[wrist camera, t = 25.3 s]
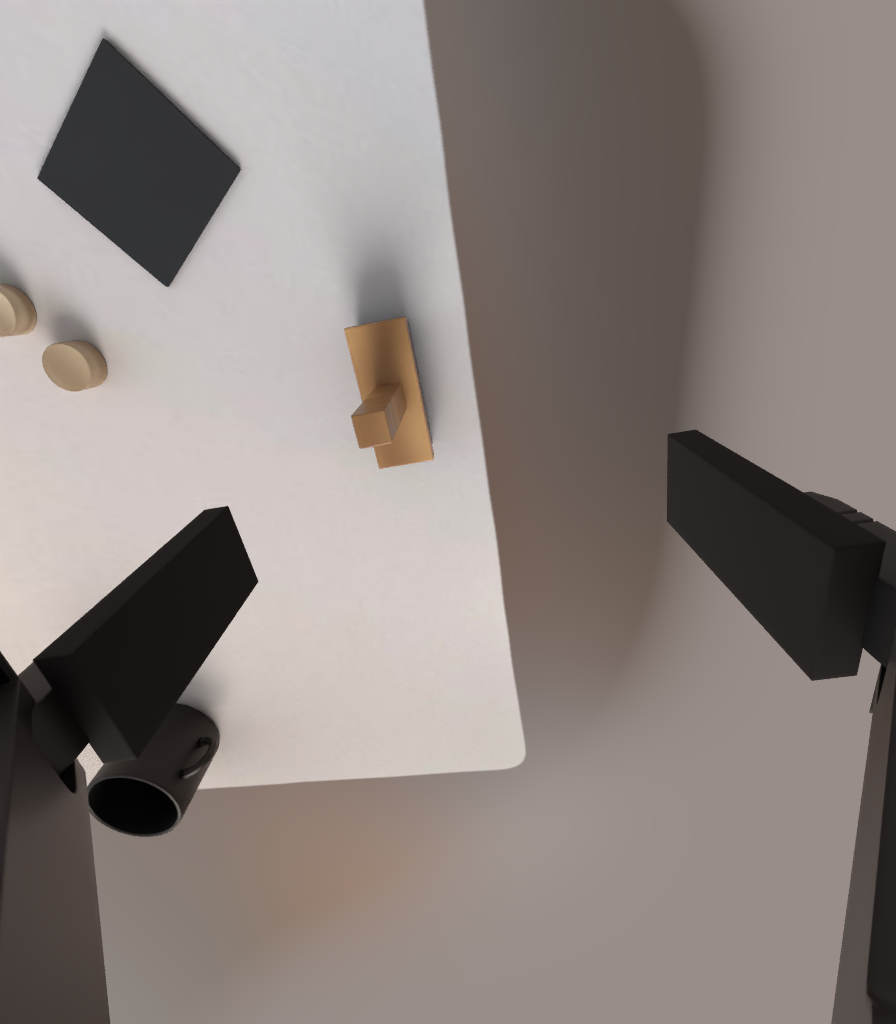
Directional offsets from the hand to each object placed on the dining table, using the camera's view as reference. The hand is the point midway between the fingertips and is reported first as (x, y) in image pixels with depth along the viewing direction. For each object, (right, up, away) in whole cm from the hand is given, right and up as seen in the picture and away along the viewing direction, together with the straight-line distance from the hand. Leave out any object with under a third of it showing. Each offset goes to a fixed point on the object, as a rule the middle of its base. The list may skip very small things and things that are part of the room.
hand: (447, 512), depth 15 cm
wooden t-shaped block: (-4, +10, +25) cm, 27 cm away
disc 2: (-29, +12, +25) cm, 40 cm away
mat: (-21, +23, +19) cm, 37 cm away
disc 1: (-34, +16, +23) cm, 44 cm away
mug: (-30, -25, +42) cm, 57 cm away
